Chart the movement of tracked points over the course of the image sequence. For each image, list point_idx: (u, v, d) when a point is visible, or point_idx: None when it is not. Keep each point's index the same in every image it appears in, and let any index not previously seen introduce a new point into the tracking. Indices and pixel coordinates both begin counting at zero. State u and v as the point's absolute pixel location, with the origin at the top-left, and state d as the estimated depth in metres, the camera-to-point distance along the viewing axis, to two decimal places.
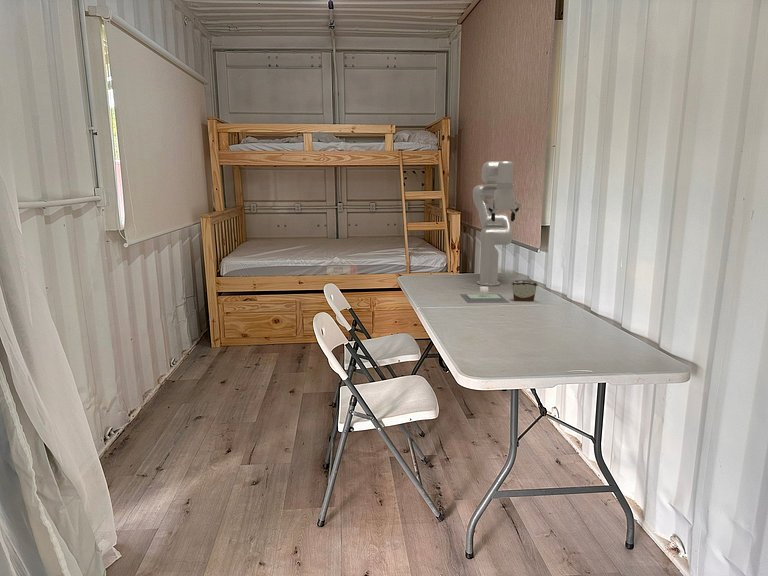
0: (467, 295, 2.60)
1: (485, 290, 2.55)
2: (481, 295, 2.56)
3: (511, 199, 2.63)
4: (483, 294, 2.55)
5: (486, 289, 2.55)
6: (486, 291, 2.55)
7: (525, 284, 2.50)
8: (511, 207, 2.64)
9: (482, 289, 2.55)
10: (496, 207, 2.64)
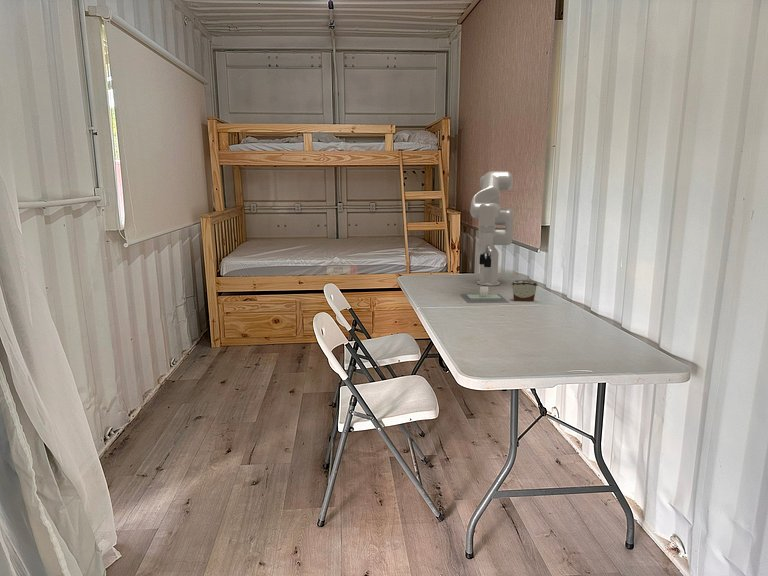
0: (467, 295, 2.60)
1: (485, 290, 2.55)
2: (481, 295, 2.56)
3: None
4: (483, 294, 2.55)
5: (486, 289, 2.55)
6: (486, 291, 2.55)
7: (525, 284, 2.50)
8: None
9: (482, 289, 2.55)
10: (491, 252, 2.49)
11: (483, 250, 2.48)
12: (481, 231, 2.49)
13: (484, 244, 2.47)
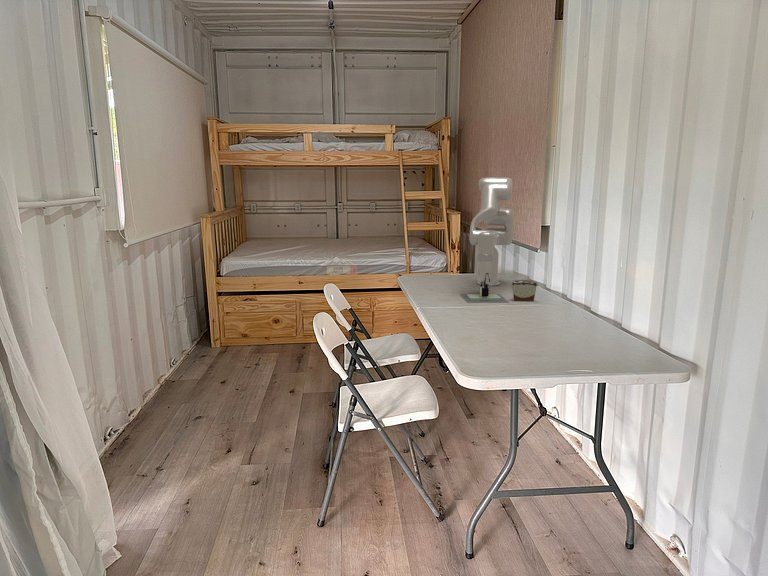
0: (467, 295, 2.60)
1: None
2: (481, 295, 2.56)
3: None
4: None
5: None
6: None
7: (525, 284, 2.50)
8: None
9: None
10: (490, 280, 2.52)
11: (482, 278, 2.51)
12: (480, 259, 2.52)
13: (483, 272, 2.50)
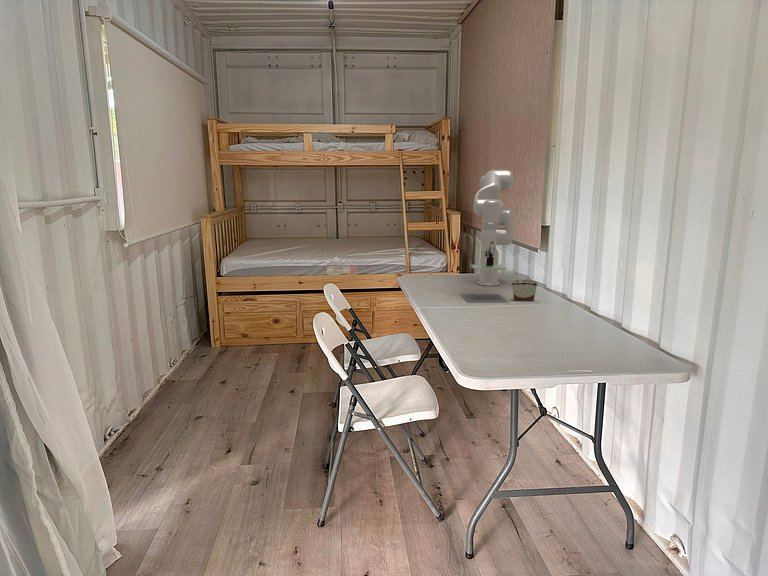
0: (472, 265, 2.57)
1: None
2: (486, 265, 2.53)
3: None
4: None
5: None
6: None
7: (525, 284, 2.50)
8: None
9: None
10: (495, 249, 2.49)
11: (487, 247, 2.48)
12: (485, 228, 2.49)
13: (488, 241, 2.47)
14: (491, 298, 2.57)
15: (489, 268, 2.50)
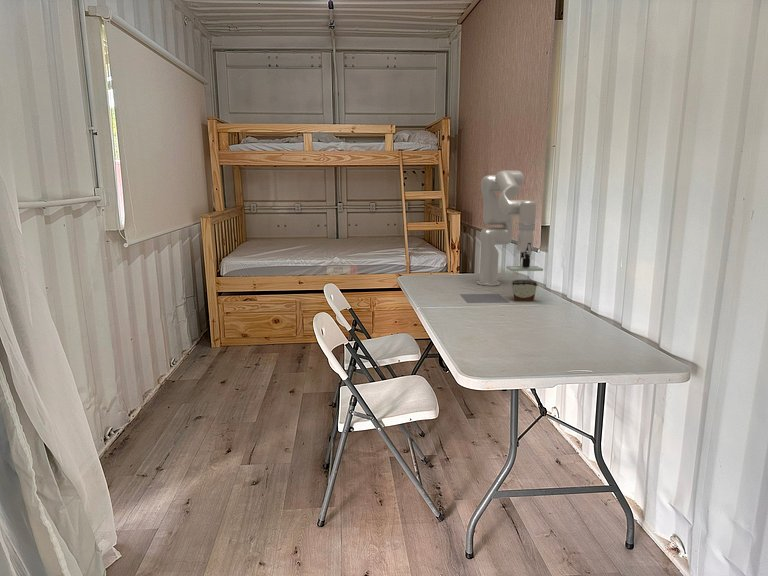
0: (507, 266, 2.54)
1: None
2: (522, 266, 2.50)
3: None
4: None
5: None
6: None
7: (525, 284, 2.50)
8: None
9: None
10: (532, 250, 2.46)
11: (524, 248, 2.45)
12: (521, 229, 2.46)
13: (525, 242, 2.44)
14: (491, 298, 2.57)
15: (526, 269, 2.47)
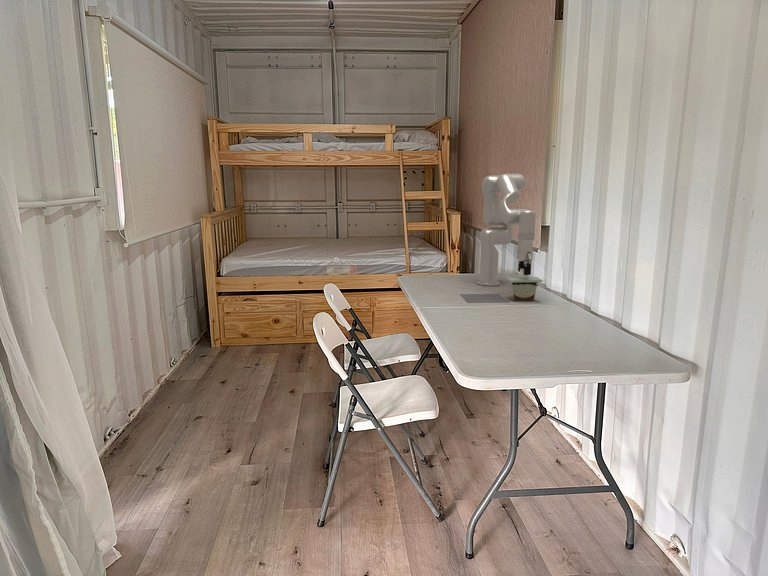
0: (506, 277, 2.55)
1: None
2: (521, 277, 2.51)
3: None
4: (524, 276, 2.51)
5: None
6: None
7: (525, 284, 2.50)
8: None
9: (522, 271, 2.50)
10: None
11: (523, 257, 2.46)
12: (521, 238, 2.46)
13: (524, 251, 2.45)
14: (491, 298, 2.57)
15: (525, 281, 2.48)
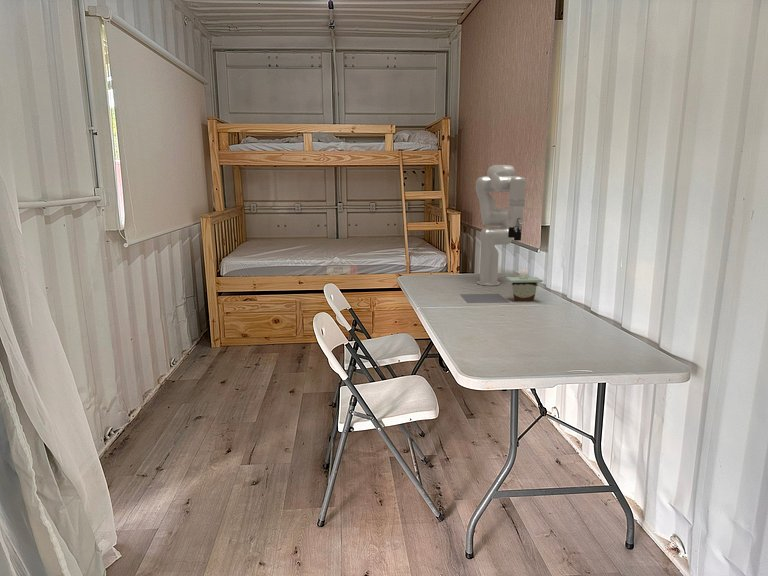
0: (506, 278, 2.55)
1: (526, 272, 2.50)
2: (521, 277, 2.51)
3: None
4: (524, 276, 2.50)
5: (527, 271, 2.50)
6: (527, 273, 2.50)
7: (525, 284, 2.50)
8: None
9: (522, 271, 2.50)
10: None
11: (513, 223, 2.51)
12: (512, 204, 2.51)
13: (515, 217, 2.50)
14: (491, 298, 2.57)
15: (525, 281, 2.48)
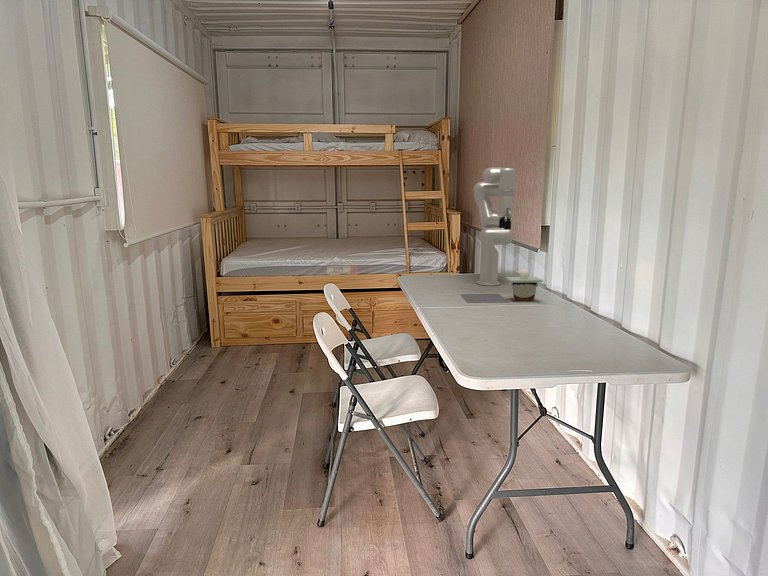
0: (506, 278, 2.54)
1: (526, 272, 2.50)
2: (521, 277, 2.51)
3: None
4: (524, 276, 2.50)
5: (527, 271, 2.50)
6: (527, 273, 2.50)
7: (525, 284, 2.50)
8: None
9: (523, 271, 2.50)
10: (511, 215, 2.58)
11: (503, 213, 2.57)
12: (501, 195, 2.58)
13: (504, 207, 2.57)
14: (491, 298, 2.57)
15: (525, 281, 2.48)
